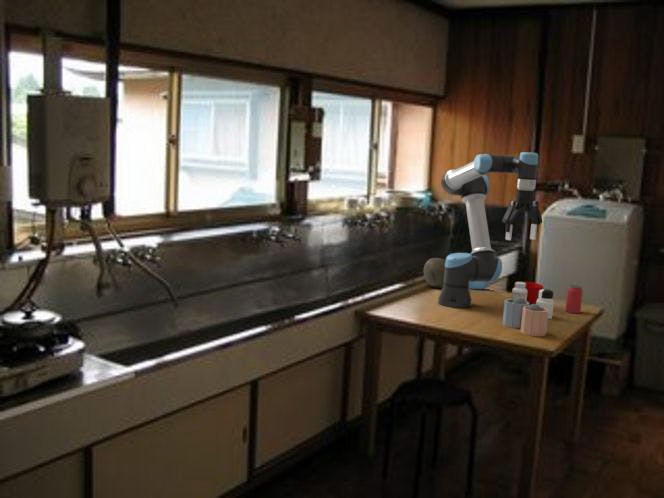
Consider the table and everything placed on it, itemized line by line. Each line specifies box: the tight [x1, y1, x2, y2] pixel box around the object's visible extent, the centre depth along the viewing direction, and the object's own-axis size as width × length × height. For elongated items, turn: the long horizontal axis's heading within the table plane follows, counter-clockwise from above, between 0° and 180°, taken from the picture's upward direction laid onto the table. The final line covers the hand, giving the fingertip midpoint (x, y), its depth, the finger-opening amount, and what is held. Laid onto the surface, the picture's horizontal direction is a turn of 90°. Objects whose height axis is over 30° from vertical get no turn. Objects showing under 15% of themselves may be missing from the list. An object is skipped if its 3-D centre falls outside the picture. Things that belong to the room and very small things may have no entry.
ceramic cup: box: [522, 281, 544, 306], centre depth 347 cm, size 13×17×10 cm
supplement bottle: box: [511, 281, 527, 301], centre depth 333 cm, size 7×7×13 cm
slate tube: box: [501, 298, 529, 329], centre depth 306 cm, size 10×10×10 cm
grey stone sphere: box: [422, 257, 446, 289], centre depth 374 cm, size 14×14×15 cm
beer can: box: [565, 284, 584, 314], centre depth 337 cm, size 7×7×12 cm
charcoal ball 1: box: [512, 298, 526, 304], centre depth 306 cm, size 6×6×6 cm
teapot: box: [469, 282, 491, 290], centre depth 379 cm, size 15×15×10 cm
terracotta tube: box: [519, 306, 549, 337], centre depth 296 cm, size 10×10×10 cm
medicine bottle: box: [536, 288, 555, 320], centre depth 325 cm, size 7×7×12 cm
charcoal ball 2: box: [527, 304, 542, 311], centre depth 296 cm, size 6×6×6 cm
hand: (520, 239), depth 311 cm, fingers open, 13 cm apart
